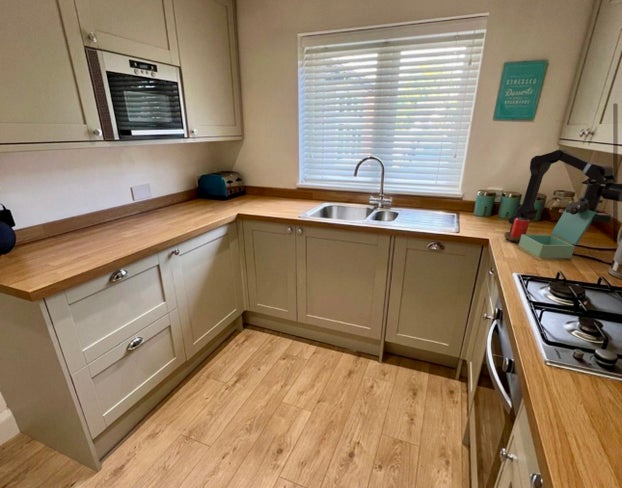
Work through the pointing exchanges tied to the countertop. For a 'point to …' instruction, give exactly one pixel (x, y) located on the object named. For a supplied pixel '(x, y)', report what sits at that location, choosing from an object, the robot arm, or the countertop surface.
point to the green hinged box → (546, 246)
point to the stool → (512, 237)
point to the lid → (573, 226)
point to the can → (520, 227)
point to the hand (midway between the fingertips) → (579, 232)
